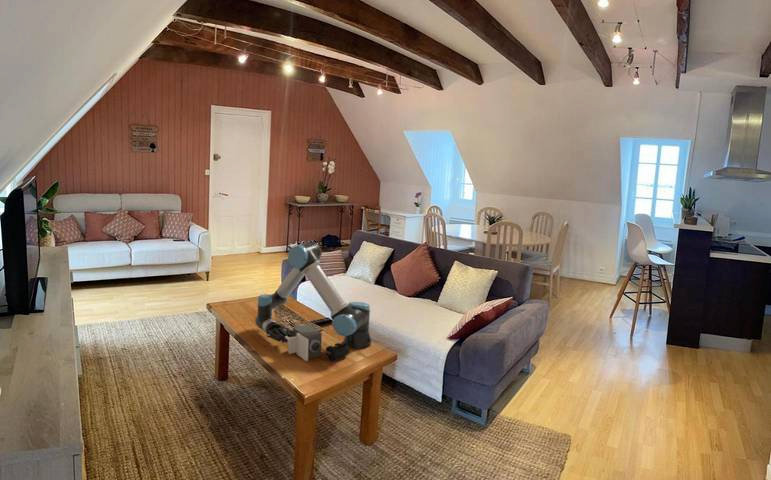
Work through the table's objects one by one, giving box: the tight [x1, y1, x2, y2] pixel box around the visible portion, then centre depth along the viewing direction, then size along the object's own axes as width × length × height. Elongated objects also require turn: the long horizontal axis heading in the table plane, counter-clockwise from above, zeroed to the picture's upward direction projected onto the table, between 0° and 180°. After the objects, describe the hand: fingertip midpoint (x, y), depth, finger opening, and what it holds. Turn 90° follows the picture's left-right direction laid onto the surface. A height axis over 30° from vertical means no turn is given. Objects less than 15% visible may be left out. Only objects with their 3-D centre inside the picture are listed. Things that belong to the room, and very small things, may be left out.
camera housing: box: [292, 324, 323, 359], centre depth 251 cm, size 9×16×12 cm, turn 38°
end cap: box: [325, 342, 350, 362], centre depth 248 cm, size 10×7×7 cm
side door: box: [287, 333, 309, 362], centre depth 244 cm, size 6×10×11 cm, turn 38°
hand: (291, 342), depth 247 cm, fingers closed
